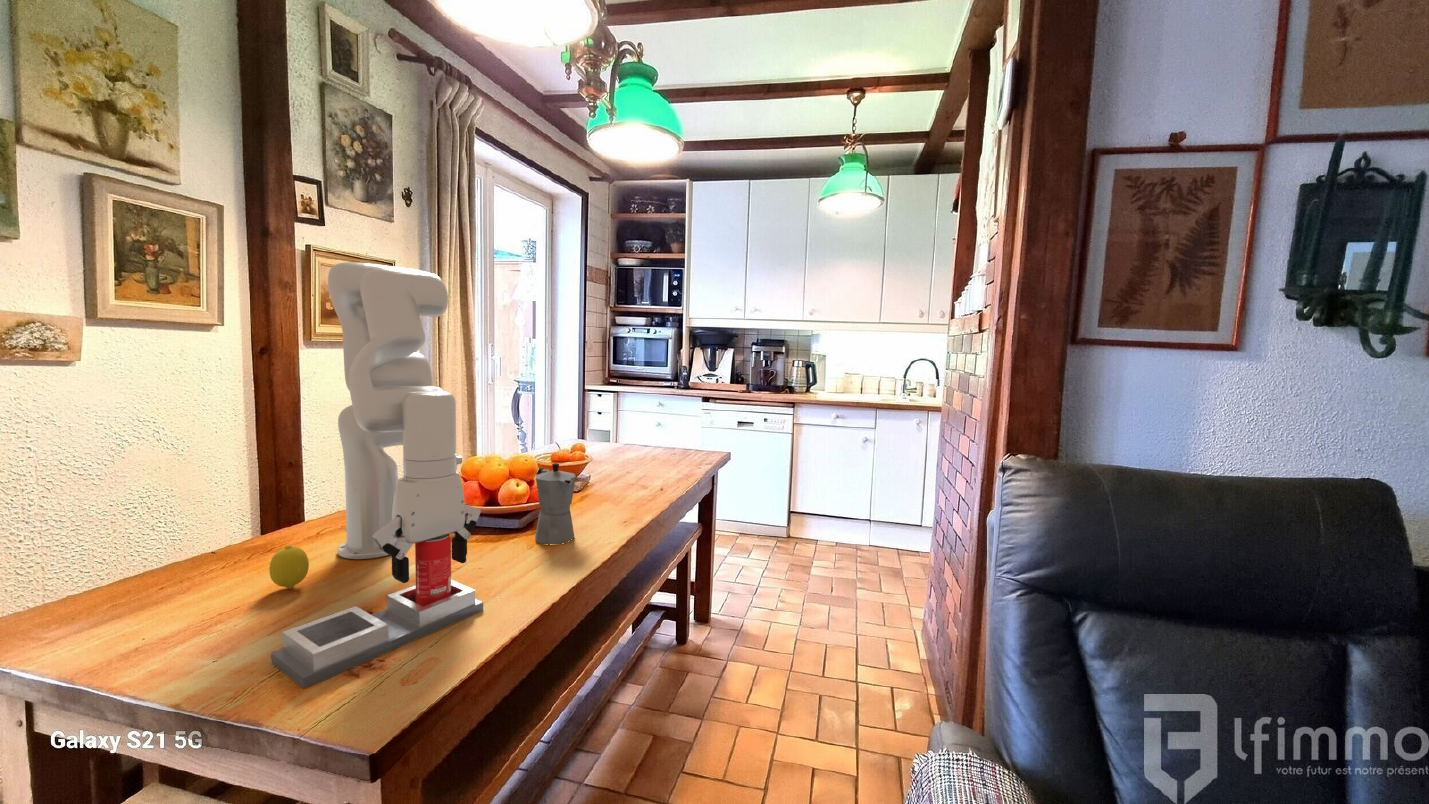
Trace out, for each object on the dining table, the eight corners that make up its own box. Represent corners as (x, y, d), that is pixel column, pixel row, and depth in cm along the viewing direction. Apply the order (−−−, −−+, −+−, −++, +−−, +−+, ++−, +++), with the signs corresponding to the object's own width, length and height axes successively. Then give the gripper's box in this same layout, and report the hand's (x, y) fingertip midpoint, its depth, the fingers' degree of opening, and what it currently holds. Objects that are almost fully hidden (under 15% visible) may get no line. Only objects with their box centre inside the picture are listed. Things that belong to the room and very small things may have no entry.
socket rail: (271, 662, 75) (270, 635, 74) (448, 594, 97) (448, 572, 96) (303, 689, 70) (302, 659, 69) (483, 610, 92) (483, 587, 91)
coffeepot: (587, 542, 125) (588, 465, 123) (549, 551, 118) (550, 471, 117) (555, 525, 136) (555, 454, 134) (518, 532, 129) (519, 459, 128)
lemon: (316, 586, 98) (314, 543, 97) (281, 598, 93) (279, 553, 92) (298, 579, 100) (296, 537, 99) (263, 591, 95) (261, 547, 94)
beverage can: (415, 616, 86) (414, 543, 85) (416, 601, 90) (415, 532, 89) (451, 610, 88) (451, 539, 87) (450, 596, 93) (450, 528, 92)
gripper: (465, 456, 96) (466, 549, 98) (360, 473, 81) (362, 582, 83) (492, 462, 92) (492, 559, 94) (386, 481, 77) (388, 596, 79)
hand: (431, 570), depth 88 cm, fingers open, 9 cm apart
